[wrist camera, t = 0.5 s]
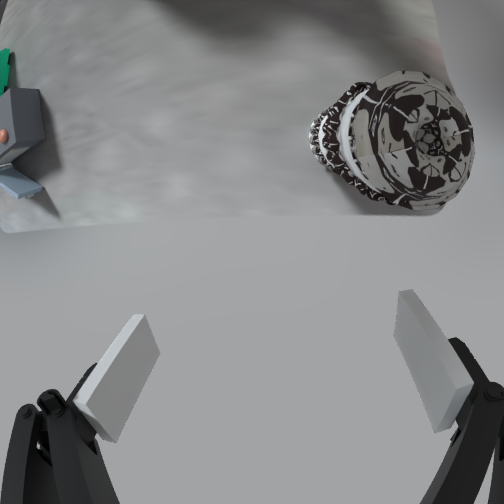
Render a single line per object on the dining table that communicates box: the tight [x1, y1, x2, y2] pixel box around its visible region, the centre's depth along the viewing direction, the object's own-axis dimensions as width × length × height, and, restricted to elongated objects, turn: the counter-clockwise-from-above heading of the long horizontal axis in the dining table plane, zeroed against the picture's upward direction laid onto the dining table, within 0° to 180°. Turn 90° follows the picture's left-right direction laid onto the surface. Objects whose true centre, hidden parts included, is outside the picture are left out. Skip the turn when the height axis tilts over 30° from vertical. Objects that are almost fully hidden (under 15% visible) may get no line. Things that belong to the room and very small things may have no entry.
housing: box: [0, 88, 46, 165], centre depth 33 cm, size 10×13×8 cm
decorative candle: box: [309, 70, 475, 211], centre depth 23 cm, size 9×9×25 cm
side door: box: [0, 165, 43, 199], centre depth 37 cm, size 1×12×7 cm, turn 63°
